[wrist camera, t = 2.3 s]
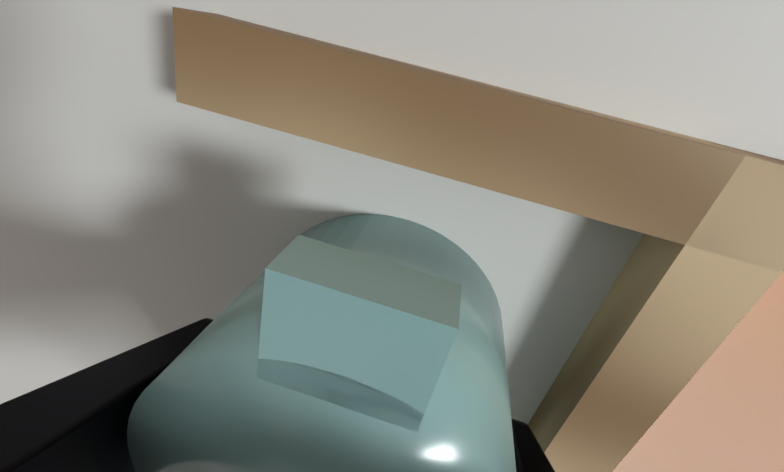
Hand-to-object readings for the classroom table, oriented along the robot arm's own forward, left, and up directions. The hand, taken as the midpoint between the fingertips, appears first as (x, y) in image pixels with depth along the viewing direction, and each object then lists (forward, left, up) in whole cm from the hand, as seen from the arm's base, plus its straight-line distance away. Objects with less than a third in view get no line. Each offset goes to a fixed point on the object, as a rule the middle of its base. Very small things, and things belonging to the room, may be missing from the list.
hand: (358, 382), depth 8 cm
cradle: (0, -1, -2) cm, 2 cm away
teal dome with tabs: (-2, 0, -2) cm, 3 cm away
